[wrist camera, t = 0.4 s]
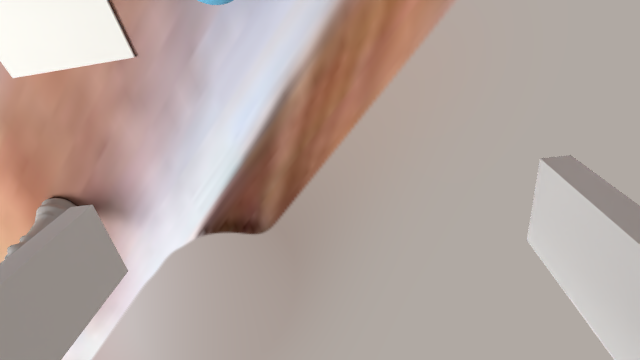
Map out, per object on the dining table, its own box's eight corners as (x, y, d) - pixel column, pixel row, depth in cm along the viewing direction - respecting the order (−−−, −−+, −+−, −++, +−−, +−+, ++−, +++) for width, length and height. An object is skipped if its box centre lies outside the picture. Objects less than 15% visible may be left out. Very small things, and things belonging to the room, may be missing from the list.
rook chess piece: (73, 195, 41) (27, 247, 35) (90, 222, 44) (50, 275, 38) (36, 196, 41) (-16, 248, 35) (55, 223, 44) (10, 276, 38)
